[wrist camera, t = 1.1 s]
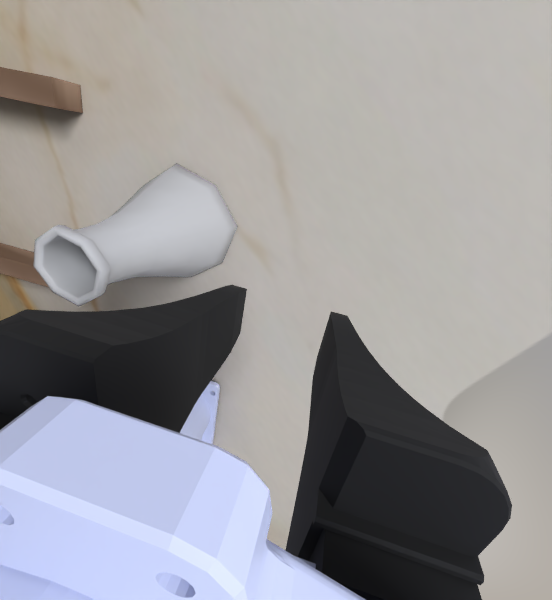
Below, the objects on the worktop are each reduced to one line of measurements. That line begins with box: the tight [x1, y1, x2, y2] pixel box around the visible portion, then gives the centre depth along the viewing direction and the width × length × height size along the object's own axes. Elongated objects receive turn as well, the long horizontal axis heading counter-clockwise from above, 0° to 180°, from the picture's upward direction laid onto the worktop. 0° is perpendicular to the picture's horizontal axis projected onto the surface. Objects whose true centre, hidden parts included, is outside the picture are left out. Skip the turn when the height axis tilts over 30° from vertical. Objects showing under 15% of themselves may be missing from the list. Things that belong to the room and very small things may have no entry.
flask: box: [33, 163, 238, 306], centre depth 17 cm, size 7×7×10 cm
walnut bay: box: [0, 67, 83, 287], centre depth 22 cm, size 16×12×2 cm
